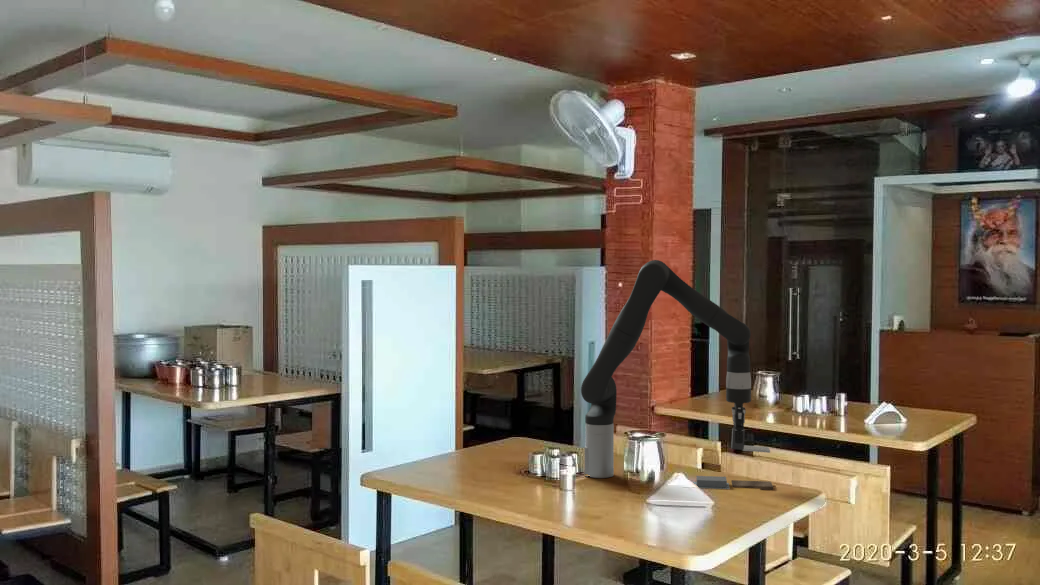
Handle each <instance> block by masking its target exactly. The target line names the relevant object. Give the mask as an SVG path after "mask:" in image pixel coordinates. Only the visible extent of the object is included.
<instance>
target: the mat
mask: <svg viewBox="0 0 1040 585" xmlns="http://www.w3.org/2000/svg"><path fill="white" fill-rule="evenodd" d="M692 482H693V483H694V484H696V485H697V483H696V481H692ZM698 489H713V490H715V489H716V490H717V489H718V490H730V489H731V488H730V484H729V482H727V488H718V487H699V488H698Z"/></svg>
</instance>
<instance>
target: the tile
mask: <svg viewBox="0 0 1040 585" xmlns="http://www.w3.org/2000/svg"><path fill="white" fill-rule="evenodd" d="M695 482H696V483H697V486H698V487H718V488H727V483H728V482H727V477H726V476H718V475H717V476H713V475H711V476H710V475H696V481H695Z"/></svg>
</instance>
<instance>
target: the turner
mask: <svg viewBox="0 0 1040 585" xmlns="http://www.w3.org/2000/svg"><path fill="white" fill-rule="evenodd" d="M731 430H732V431H731V449H732V450H738V451H739V450H740V451H743V452H744V451H745V452H757V453H769V454H771V450H770V447H769V446H758V445H757V446H756V445H746V444H745V434H746V433H745V431H746V430H745V429H744V430H743V443H736V442H735V428H734V427H732V428H731Z"/></svg>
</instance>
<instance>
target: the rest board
mask: <svg viewBox="0 0 1040 585" xmlns="http://www.w3.org/2000/svg"><path fill="white" fill-rule="evenodd" d="M731 484H732V488H739V489H740V488H741V489H742V488H743V489H759V490H760V491H762V490H763V491H764V490H765V491H774V485H773V483H772V481H766V480H765V481H764V480H763V481H761V480H736V479H733V480H732V479H731Z"/></svg>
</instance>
